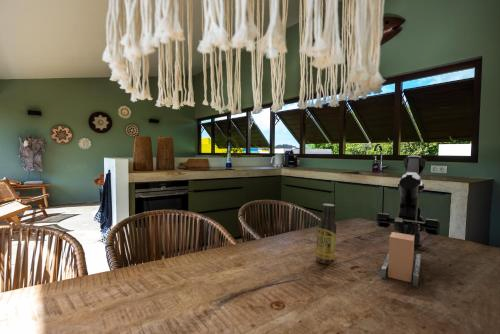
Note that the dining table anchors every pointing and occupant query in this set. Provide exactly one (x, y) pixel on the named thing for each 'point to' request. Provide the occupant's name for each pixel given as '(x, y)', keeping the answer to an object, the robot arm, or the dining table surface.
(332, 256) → the sauce bottle
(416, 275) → the chute
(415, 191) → the robot arm
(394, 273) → the terracotta block
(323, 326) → the dining table surface
